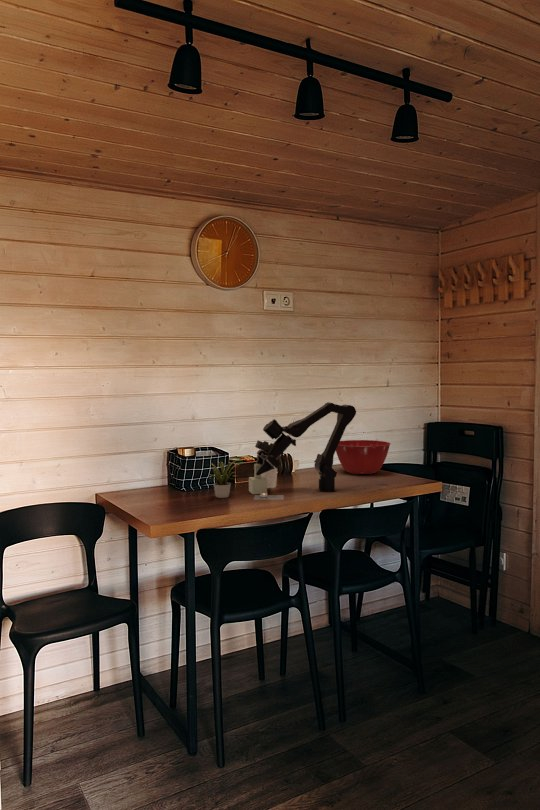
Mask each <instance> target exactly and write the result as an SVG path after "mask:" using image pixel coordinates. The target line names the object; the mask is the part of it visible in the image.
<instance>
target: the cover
mask: <svg viewBox="0 0 540 810" xmlns="http://www.w3.org/2000/svg"><path fill="white" fill-rule="evenodd" d="M253 465H254V466H253V468H254V476H249V477H248V492H249V493H251V495H260V493H267V494H268V488H267V479H266V478H265V477H263V476H262V477H261V474H260V475H258V476H257V475H256V473H257V471H258V470H259V468H260V467H261V464H256V463H254V464H253Z"/></svg>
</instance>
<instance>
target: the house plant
mask: <svg viewBox="0 0 540 810" xmlns="http://www.w3.org/2000/svg"><path fill="white" fill-rule="evenodd" d="M234 463H235V461H232V462H230V463H227V464H226V466H225V463H224V462H223V461H220V462H218V464H219V466H220V469H219V468H218V467H217V466H216V465H214V463H211V462H210V464H211V465H212V466H213V468H212V467H211V469H212V470H213V474H210V473H209V474H208V475H209V476H211V477H210V480H214V481H215V483H213V489H214V494H215V498H219V499H223V498H229V497H230V491H231V484H232V483H231V482H228V481H229V480H234V479H235V478H236V475H233V474H234V471H233V472H232V470H233V469H234V468H235V467H236V466H239V465H241V464H240V463H239V464H235V465H233V464H234ZM232 465H233V466H232ZM231 466H232V467H231ZM220 470H221V472H220ZM232 475H233V477H235V478H233V477H232Z"/></svg>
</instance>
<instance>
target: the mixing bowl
mask: <svg viewBox="0 0 540 810" xmlns="http://www.w3.org/2000/svg"><path fill="white" fill-rule="evenodd" d="M390 445H391V443H390V442H389V441H383V440H369V439H351V440H349V439H346V440H340V442H339V444H338V447H337V449H336V451H335V453H336V455H337V459H338V461H339V463H340V465H341V466H342V468H343V470H344V471H346V472H349V473H348V474H350V473H352V474H351V475H355V474H370V475H373V474H372V473H375V474H376V473H377V472H379V471H380V470H381V468H382V467H383V465H384V463H385V460H386V458H387V456H388V453H389V450H390Z"/></svg>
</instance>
